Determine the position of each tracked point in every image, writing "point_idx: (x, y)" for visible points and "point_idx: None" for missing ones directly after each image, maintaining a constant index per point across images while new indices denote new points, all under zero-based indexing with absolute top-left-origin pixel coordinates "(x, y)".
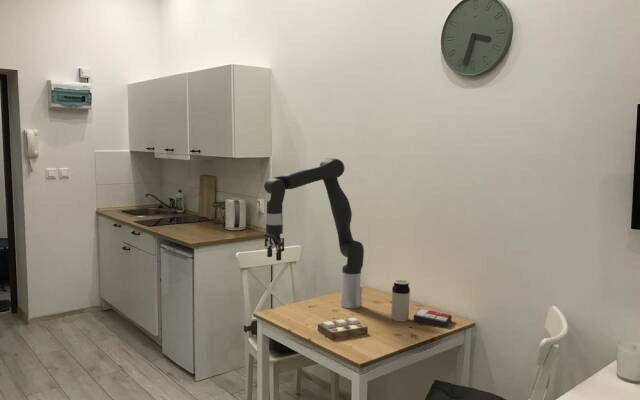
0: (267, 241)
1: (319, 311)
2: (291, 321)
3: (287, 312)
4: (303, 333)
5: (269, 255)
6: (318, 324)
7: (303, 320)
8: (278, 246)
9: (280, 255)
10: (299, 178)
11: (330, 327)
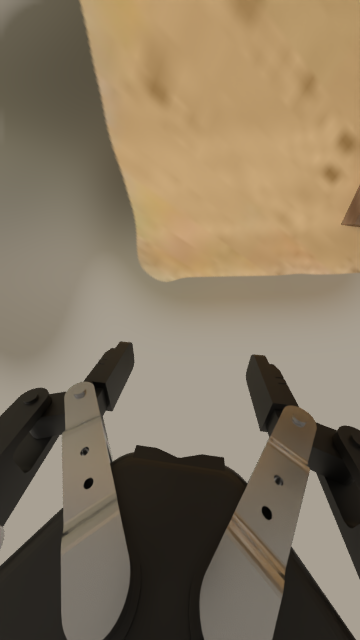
0: (23, 473)
1: (219, 91)
2: (239, 242)
3: (175, 209)
4: (322, 265)
5: (130, 363)
6: (357, 224)
7: (254, 208)
8: (350, 528)
9: (287, 393)
10: None
11: None
